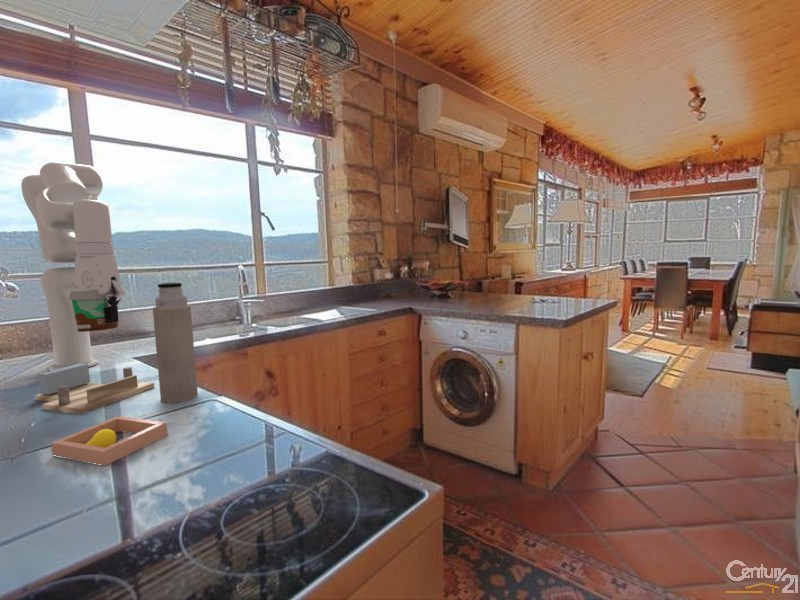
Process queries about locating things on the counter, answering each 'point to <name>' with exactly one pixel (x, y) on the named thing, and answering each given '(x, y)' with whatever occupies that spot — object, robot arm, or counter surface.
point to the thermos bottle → (174, 344)
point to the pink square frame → (144, 435)
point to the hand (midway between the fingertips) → (103, 321)
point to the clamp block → (63, 378)
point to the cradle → (93, 394)
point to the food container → (90, 310)
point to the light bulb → (103, 438)
